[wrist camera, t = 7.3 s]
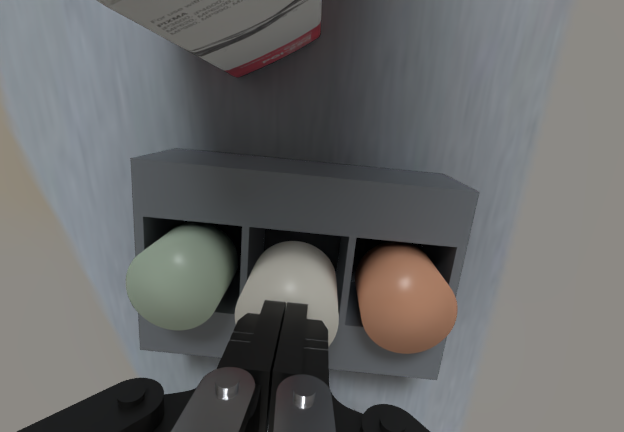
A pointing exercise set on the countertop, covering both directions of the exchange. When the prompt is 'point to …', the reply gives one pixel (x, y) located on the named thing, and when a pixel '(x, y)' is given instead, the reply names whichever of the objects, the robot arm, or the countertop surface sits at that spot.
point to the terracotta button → (403, 298)
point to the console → (302, 218)
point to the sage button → (182, 276)
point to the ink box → (229, 28)
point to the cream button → (293, 283)
